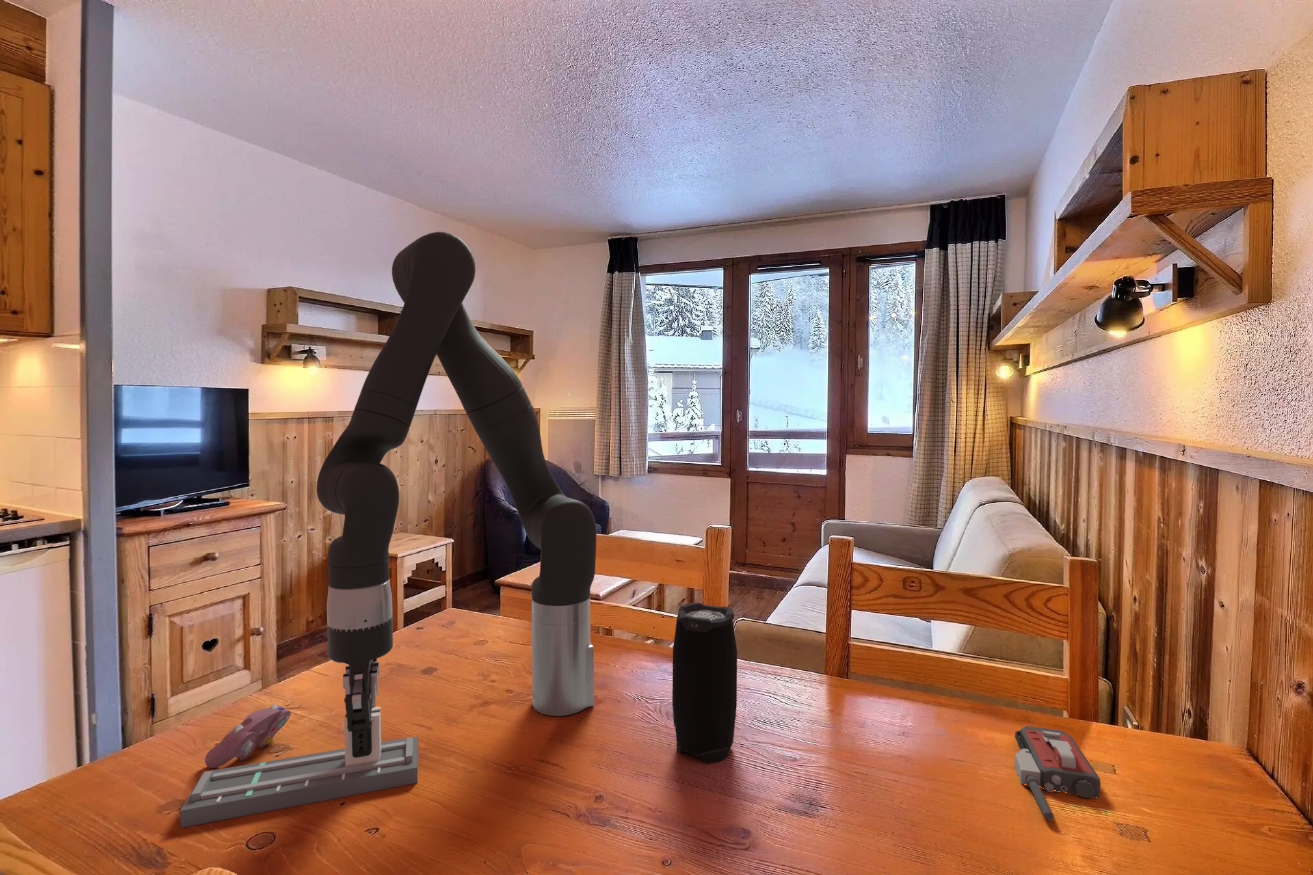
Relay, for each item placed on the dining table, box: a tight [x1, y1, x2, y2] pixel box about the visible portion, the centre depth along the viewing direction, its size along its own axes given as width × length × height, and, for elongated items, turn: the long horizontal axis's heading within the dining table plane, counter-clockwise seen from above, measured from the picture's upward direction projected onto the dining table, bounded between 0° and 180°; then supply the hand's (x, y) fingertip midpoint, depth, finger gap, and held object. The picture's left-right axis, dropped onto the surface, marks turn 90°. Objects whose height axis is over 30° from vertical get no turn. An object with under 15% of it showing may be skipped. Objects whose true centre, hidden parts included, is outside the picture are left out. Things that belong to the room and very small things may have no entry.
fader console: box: [179, 735, 419, 828], centre depth 79 cm, size 25×8×3 cm, turn 110°
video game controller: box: [204, 703, 292, 769], centre depth 87 cm, size 10×5×7 cm, turn 169°
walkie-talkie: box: [1014, 725, 1101, 821], centre depth 80 cm, size 9×4×20 cm
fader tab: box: [343, 706, 382, 767], centre depth 81 cm, size 4×2×6 cm, turn 110°
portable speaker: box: [671, 602, 738, 764], centre depth 87 cm, size 9×9×20 cm
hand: (363, 748), depth 81 cm, fingers closed on fader tab, 2 cm apart
